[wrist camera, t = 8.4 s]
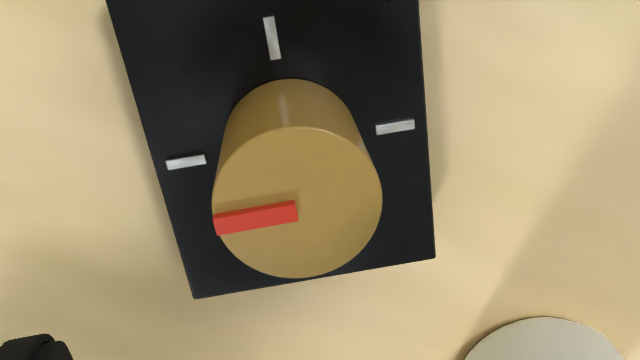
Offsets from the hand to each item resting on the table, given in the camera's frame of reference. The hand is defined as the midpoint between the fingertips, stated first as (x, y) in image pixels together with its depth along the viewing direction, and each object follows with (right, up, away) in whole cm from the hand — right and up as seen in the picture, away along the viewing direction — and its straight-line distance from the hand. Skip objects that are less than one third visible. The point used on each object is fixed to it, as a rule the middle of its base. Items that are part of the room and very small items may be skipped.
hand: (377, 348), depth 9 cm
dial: (-2, +4, +12) cm, 12 cm away
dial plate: (-2, +5, +14) cm, 15 cm away
